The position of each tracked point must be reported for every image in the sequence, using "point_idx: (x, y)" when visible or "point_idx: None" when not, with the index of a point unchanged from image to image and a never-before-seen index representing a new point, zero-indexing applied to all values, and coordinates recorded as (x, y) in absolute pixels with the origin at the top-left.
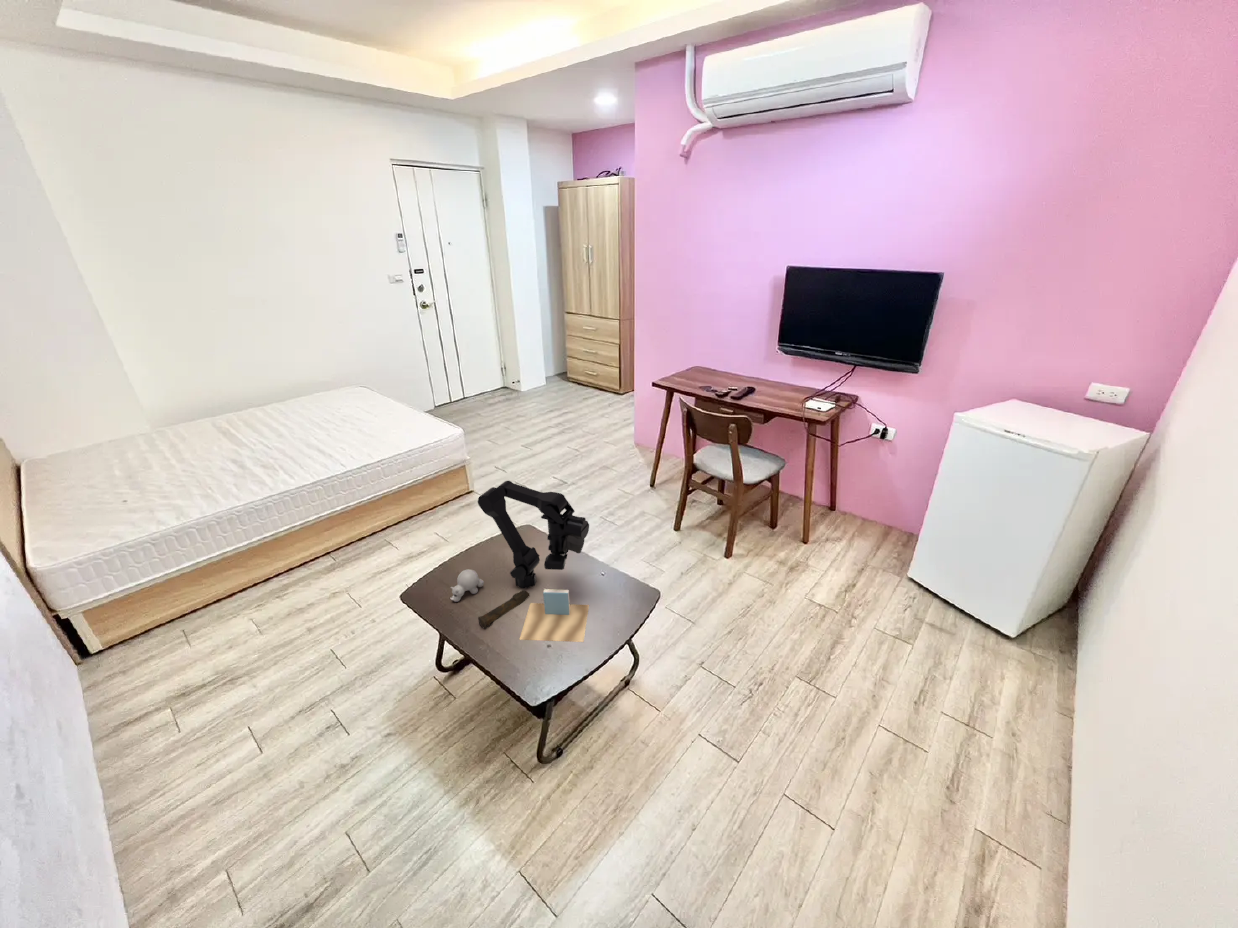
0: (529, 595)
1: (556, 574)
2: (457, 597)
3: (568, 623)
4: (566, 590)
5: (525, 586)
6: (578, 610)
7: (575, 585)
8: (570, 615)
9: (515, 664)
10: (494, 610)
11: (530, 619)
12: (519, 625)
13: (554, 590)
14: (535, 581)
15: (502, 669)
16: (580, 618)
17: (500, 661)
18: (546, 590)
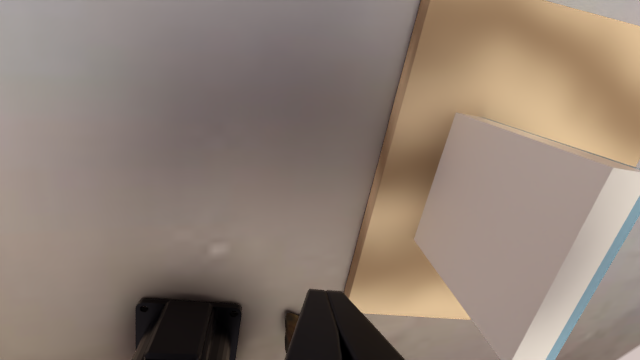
0: (288, 322)
1: (73, 191)
2: None
3: (546, 124)
4: (609, 190)
5: (228, 355)
6: (467, 57)
7: (190, 62)
8: (491, 111)
9: (625, 311)
10: None
11: (453, 299)
12: (449, 324)
13: (558, 296)
14: (186, 317)
15: (623, 342)
16: (535, 48)
17: (589, 353)
18: (530, 353)
